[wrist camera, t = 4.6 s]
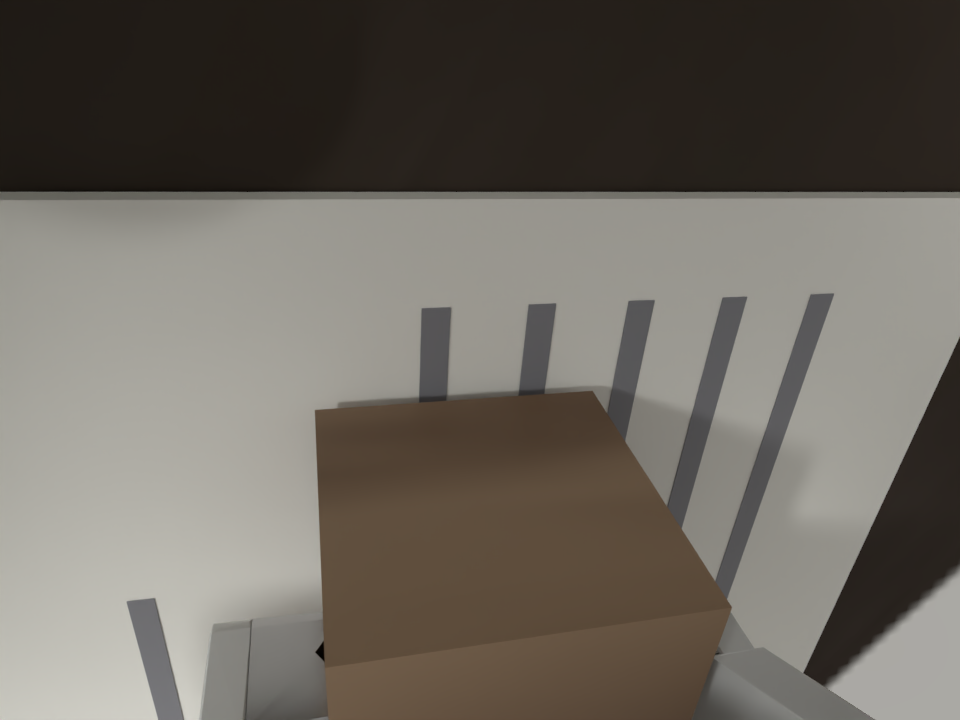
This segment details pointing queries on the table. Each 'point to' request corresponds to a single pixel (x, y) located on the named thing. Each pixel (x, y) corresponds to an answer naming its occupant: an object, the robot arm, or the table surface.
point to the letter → (431, 391)
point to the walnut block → (504, 567)
